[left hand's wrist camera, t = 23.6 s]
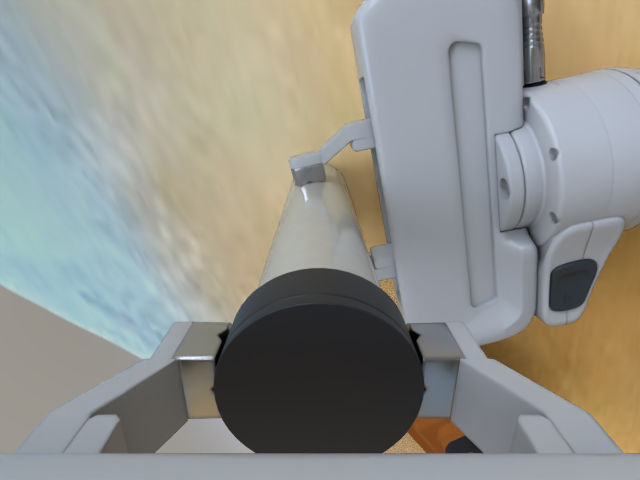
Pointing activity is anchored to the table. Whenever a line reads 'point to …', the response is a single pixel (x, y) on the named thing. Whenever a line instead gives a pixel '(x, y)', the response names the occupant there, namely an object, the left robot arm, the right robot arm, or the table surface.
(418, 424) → the power drill
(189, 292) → the table surface
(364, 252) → the white cylinder
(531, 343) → the table surface
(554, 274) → the right robot arm
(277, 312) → the lid
